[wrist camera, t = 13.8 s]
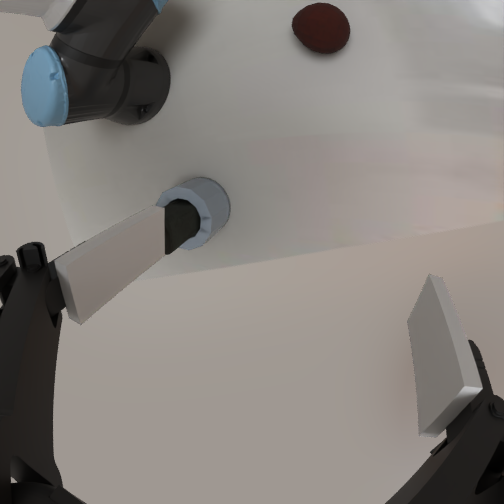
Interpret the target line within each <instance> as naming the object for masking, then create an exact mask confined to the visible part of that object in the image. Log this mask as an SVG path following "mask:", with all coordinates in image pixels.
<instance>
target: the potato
mask: <svg viewBox="0 0 504 504" xmlns="http://www.w3.org/2000/svg"><path fill="white" fill-rule="evenodd" d="M292 28H293V31H294V34H295V35H296V36H297V38H298V39H299V40H300V41H301V42H302V43H303V44H304V45H305V46H307V47H308V48H310V49H311V50H313V51H315V52H319V53H333V52H336V51H338V50H340V49H341V48H343V47H344V46H345V45H346V43H347V41H348V39H349V35H350V25H349V22H348V19H347V18H346V16H345V14H344V13H343V12H342V11H341V10H340V9H339V8H337V7H335V6H333V5H331V4H328V3H315V4H312V5H308V6H306V7H305V8H303V9H302V10H300V11H299V12H298V13H297V14H296V15H295V16H294V18H293V21H292Z"/></svg>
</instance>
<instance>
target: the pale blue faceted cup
mask: <svg viewBox="0 0 504 504" xmlns="http://www.w3.org/2000/svg"><path fill="white" fill-rule="evenodd" d="M179 198H180V199H185V200H188V201H189V202H190V203H192V204H193V205H194V206H195V207H196V208H197V211H198V213H199V215H200V217H201V225H200V230H199V231H198V232H197V233H196V234H195V235H194V236H192V237H191V238H190V239H188V240H187V241H186V242H185V243H183V244H182V245H181V246H179V248H183V249H187V250H191V249H194V248H197V247H201V246H203V245H204V244H205V243H206V242H207V241H208V240H209V239H211V238H212V237H213V236H214V235H215V234H216V233H217V232H218V231H219V230H220V229H221V228H222V227H223V226H224V225H225V224H226V222H227V220H228V218H229V215H230V202H229V198H228V196H227V194H226V192H225V190H224V189H223V188H222V187H221V186H220V185H219V184H218V183H217V182H215V181H214V180H211V179H209V178H203V177H200V178H194V179H192V180H189V181H187V182H185V183H182V184H180V185H178V186H175V187H173V188H171V189H169V190H167V191H165V192H163V193H162V195H161V196H160V198H159V200H158V202H157V204H156V206H158V207H164V206H166V205H167V204H169V203H171V202H173V201H175V200H177V199H179Z"/></svg>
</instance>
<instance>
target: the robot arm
mask: <svg viewBox="0 0 504 504" xmlns="http://www.w3.org/2000/svg"><path fill="white" fill-rule="evenodd" d="M167 1H168V0H0V12H6V13H16V14H24V15H30V16H37V17H41V18H42V19H43V21H44V23H45V26H46V28H47V30H49V31H53V32H56V34H55V36H54V38H53V40H52V42H51V44H50V45H49V46H47V45H45V46H42V47H39V48H37V49H36V50H35V51H34V52H33V53H32V54H31V55H30V56H29V58H28V60H27V62H26V65H25V67H24V71H23V75H22V84H21V93H22V102H23V107H24V110H25V112H26V114H27V116H28V118H29V119H30V120H31V122H32V123H34V124H35V125H37V126H40V127H46V126H62V125H65V124H70V123H76V122H81V121H87V120H94V119H100V118H105V119H108V120H111V121H114V122H117V123H120V124H124V125H132V124H139V123H143V122H145V121H147V120H149V119H151V118H152V117H153V116H154V115H155V114H156V113H157V112H158V111H159V110H160V108H161V107H162V105H163V104H164V102H165V100H166V97H167V95H168V91H169V86H170V72H169V67H168V64H167V62H166V60H165V59H164V57H163V56H162V55H161V54H160V53H159V52H157V51H155V50H153V49H150V48H146V47H134V45H135V44H136V42H137V41H138V40H139V38H140V37H141V35H142V34H143V33H144V31H145V30H146V29H147V27H148V26H149V25H150V23H151V22H152V21H153V19H154V18H155V17H156V16H157V14H160V13H161V9H162V8H163V6H164V5H165V4H166V3H167ZM164 214H165V208H162V207H158V206H153V205H152V206H150V207H148V208H146V209H144V210H142V211H140V212H139V213H137V214H135V215H133V216H131V217H129V218H127V219H125V220H123V221H121V222H120V223H118V224H116V225H114V226H112V227H110V228H109V229H107V230H105V231H103V232H101V233H100V234H98V235H96V236H94V237H93V238H91V239H89V240H87V241H84V242H83V243H81V244H79V245H78V246H77V247H74V248H72V249H71V250H70V251H67V252H66V253H64V254H62V255H61V256H59V257H57V258H56V259H54V260H53V261H51V262H49V263H48V261H47V257H46V252H45V247H44V245H43V244H42V243H40V242H31V243H27V244H25V245H23V246H21V247H20V248H18V249H17V251H16V252H17V256H18V260H19V264H20V267H16V264H15V260H14V258H13V257H12V256H10V255H6V256H5V255H3V256H0V299H1V302H2V304H3V305H2V307H1V308H0V504H86V503H85V502H83V501H81V500H80V499H78V498H77V497H76V496H74V495H73V494H71V493H70V492H68V491H67V490H66V489H64V488H63V484H62V479H61V475H60V472H59V470H58V468H57V466H56V464H55V460H54V454H53V399H54V383H55V370H56V360H57V352H58V344H59V336H60V330H61V323H62V313H61V310H62V309H63V308H65V307H66V309H67V312H68V316H69V318H70V319H72V320H74V321H75V322H77V323H79V324H80V325H82V324H83V323H84V322H85V321H86V320H87V319H88V318H90V317H91V316H92V315H93V314H94V313H95V312H96V311H98V310H99V309H100V308H101V307H102V306H104V305H105V304H106V303H107V302H108V301H110V300H111V299H112V298H113V297H114V296H116V295H117V294H118V293H119V292H120V291H122V290H123V289H124V288H125V287H126V286H127V285H129V284H130V283H131V282H133V281H134V280H135V279H136V278H137V277H139V276H140V275H141V274H142V273H144V272H145V271H146V270H147V269H149V268H150V267H151V266H152V265H154V264H155V263H156V262H157V261H159V260H160V259H161V258H162V257H164V256H165V226H164ZM407 323H408V329H409V336H410V342H411V348H412V356H413V364H414V372H415V382H416V393H417V407H418V424H419V425H418V427H419V436H424V437H437V436H438V435H439V434H440V433H441V432H443V431H444V430H445V429H446V433H447V438H445V439H444V440H443V441H442V442H441V443H440V444H439V445H438V446H436V447H435V448H434V449H433V450H432V451H431V452H430V453H431V454H432V455H431V456H430V457H429V458H428V459H427V460H426V462H425V463H424V464H423V465H422V466H421V467H420V468H419V470H418V471H417V472H416V473H415V474H414V475H413V476H412V477H411V478H410V480H409V481H408V482H407V483H406V484H405V485H404V486H403V487H402V488H401V489H400V490H399V491H398V492H397V493H396V494H395V495H394V496H393V497H392V498H391V499H390V500H388V501H387V502H386V503H385V504H504V400H503V399H502V398H500V397H499V396H497V395H494V394H493V391H492V388H491V384H490V381H489V377H488V374H487V371H486V369H485V365H484V362H483V361H482V360H483V359H482V356H481V353H480V351H479V349H478V347H477V346H476V345H475V344H474V342H473V341H472V340H468V339H467V336H466V333H465V331H464V328H463V325H462V323H461V320H460V318H459V315H458V313H457V310H456V308H455V305H454V303H453V300H452V298H451V296H450V294H449V291H448V289H447V287H446V284H445V282H444V280H443V278H441V277H438V276H434V275H431V274H429V275H428V277H427V280H426V282H425V284H424V287H423V289H422V291H421V293H420V295H419V298H418V300H417V302H416V304H415V306H414V308H413V310H412V312H411V314H410V317H409V319H408V321H407ZM11 477H12V478H14V479H15V480H16V481H17V483H11Z"/></svg>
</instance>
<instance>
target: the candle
mask: <svg viewBox="0 0 504 504" xmlns="http://www.w3.org/2000/svg"><path fill="white" fill-rule="evenodd" d="M162 208H165V214H164V226H165V254H166V255H168V254H171V253H172V252H173V251H174V250H176V249H177V248H178V247H179V246H181V245H182V244H183V243H185V242H186V241H187V240H188V239H190V238H191V237H192V236H194V235H195V234H196V233H197V232H198V231H199V230H200V225H201V217H200V215H199V213H198V211H197V208H196V207H195V206H194V205H193V204H192V203H190V202H189V201H188V200H185V199H180V198H179V199H177V200H175V201H173V202H171V203H169V204H167V205H166V206H164V207H162Z"/></svg>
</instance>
